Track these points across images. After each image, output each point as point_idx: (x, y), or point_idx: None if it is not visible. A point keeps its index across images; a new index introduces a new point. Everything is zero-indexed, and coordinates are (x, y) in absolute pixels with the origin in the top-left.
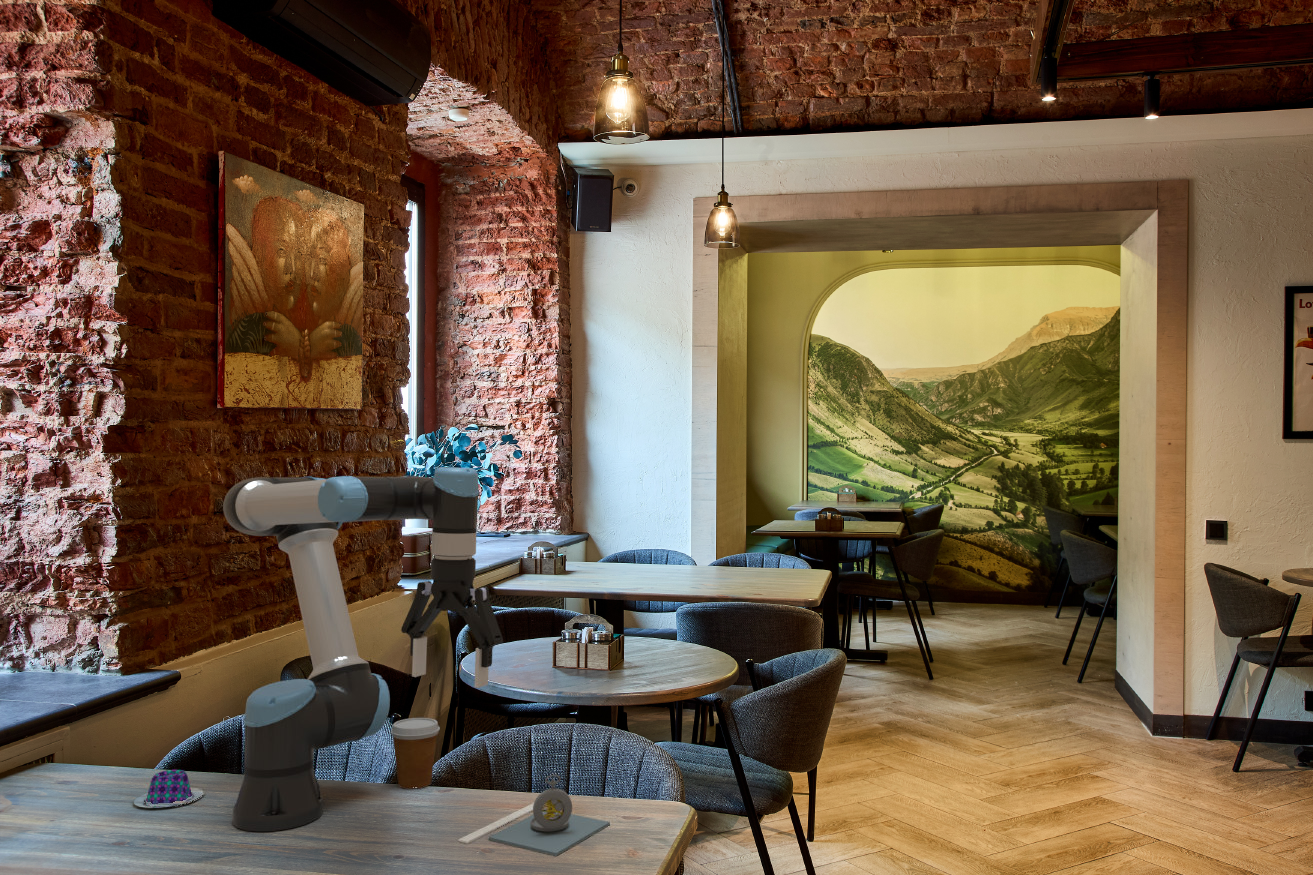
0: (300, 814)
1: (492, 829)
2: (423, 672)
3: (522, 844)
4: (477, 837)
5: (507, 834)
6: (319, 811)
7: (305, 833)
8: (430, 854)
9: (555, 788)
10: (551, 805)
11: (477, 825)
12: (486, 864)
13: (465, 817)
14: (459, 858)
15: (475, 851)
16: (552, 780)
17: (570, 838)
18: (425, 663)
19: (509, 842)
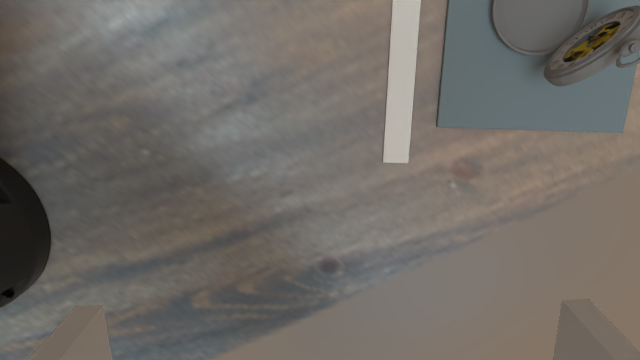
0: (36, 253)
1: (414, 80)
2: (101, 333)
3: (529, 127)
4: (410, 131)
5: (467, 95)
6: (27, 196)
7: (90, 261)
8: (375, 234)
9: (626, 40)
10: (595, 49)
11: (360, 66)
12: (503, 224)
13: (302, 37)
14: (438, 225)
15: (447, 185)
16: (636, 52)
17: None
18: (69, 352)
19: (495, 128)
